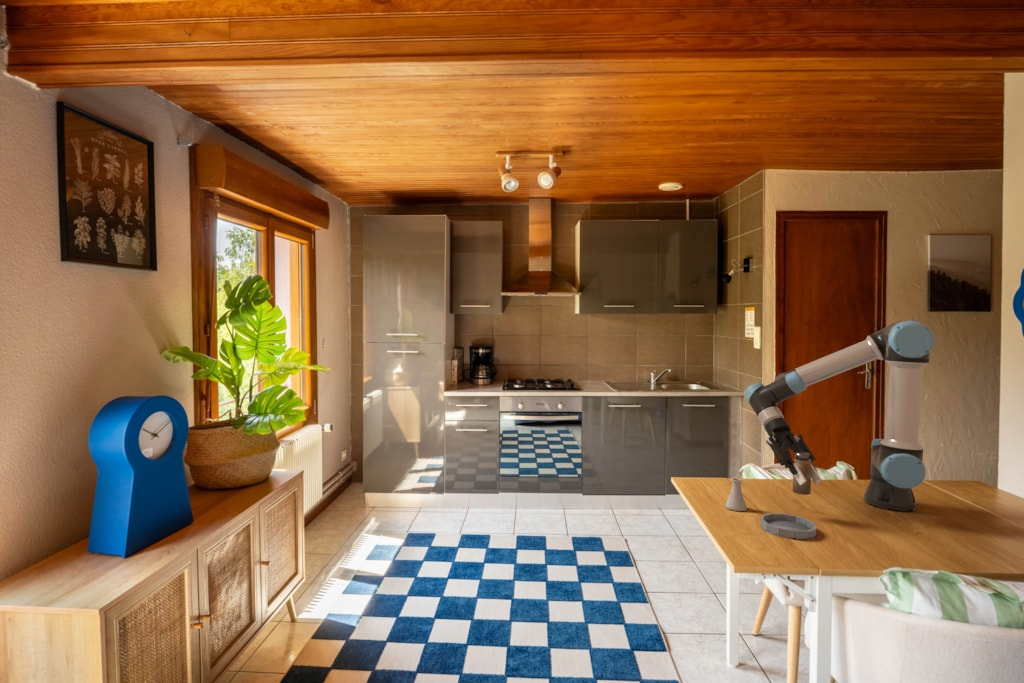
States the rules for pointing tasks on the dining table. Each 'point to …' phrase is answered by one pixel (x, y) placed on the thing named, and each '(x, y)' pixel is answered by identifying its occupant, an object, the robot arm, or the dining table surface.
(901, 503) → the robot arm
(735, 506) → the flask
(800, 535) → the round grey tray
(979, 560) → the dining table surface
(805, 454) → the pepper mill
